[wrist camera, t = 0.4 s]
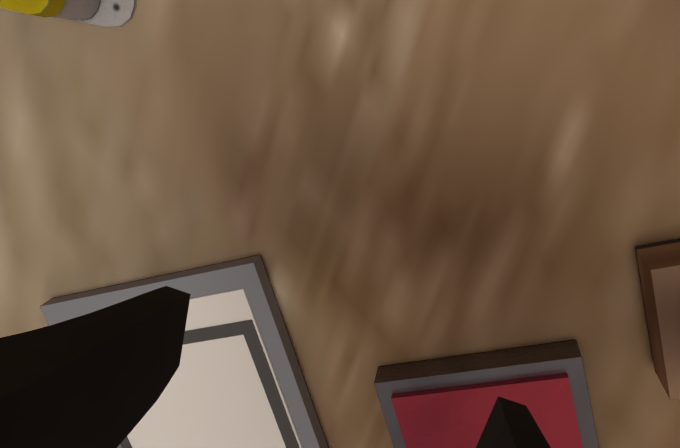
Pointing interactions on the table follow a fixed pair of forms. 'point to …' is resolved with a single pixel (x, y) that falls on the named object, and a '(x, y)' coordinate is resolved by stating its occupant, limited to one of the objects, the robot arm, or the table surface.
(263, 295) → the grey white rectangular board
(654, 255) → the stamp
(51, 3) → the emergency button
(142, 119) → the table surface
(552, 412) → the ink pad
